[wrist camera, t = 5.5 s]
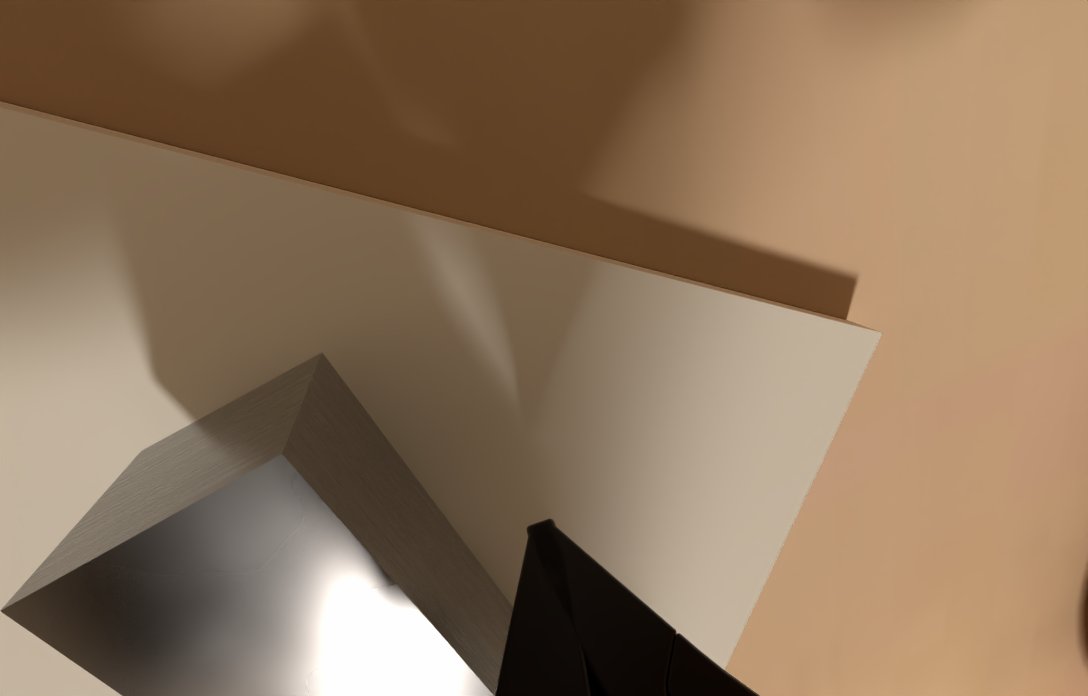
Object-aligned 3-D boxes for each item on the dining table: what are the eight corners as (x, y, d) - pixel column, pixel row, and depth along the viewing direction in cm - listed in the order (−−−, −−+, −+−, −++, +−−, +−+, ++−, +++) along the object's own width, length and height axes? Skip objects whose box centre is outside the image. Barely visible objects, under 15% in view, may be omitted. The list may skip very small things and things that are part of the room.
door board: (624, 821, 17) (683, 995, 14) (-207, 941, 11) (-511, 1334, 7) (847, 320, 13) (1028, 384, 9) (-387, 0, 6) (-1526, -231, 2)
